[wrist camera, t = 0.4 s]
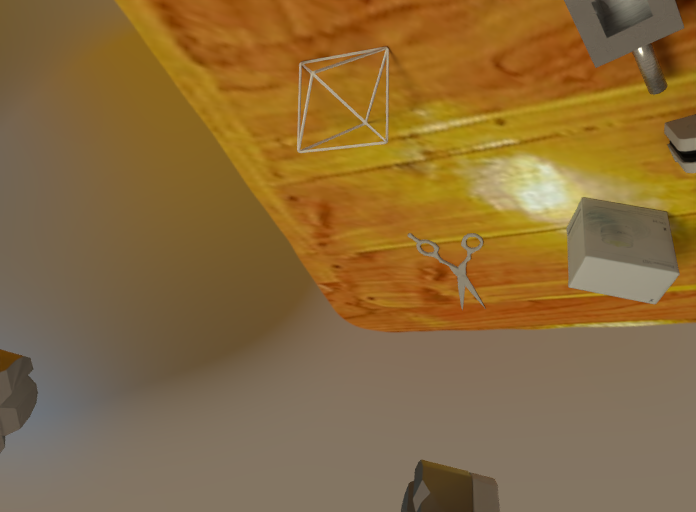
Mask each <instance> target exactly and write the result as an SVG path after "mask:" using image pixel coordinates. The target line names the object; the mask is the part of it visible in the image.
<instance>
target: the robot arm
mask: <svg viewBox="0 0 696 512" xmlns="http://www.w3.org/2000/svg"><path fill="white" fill-rule="evenodd" d="M32 370H33V366H32V362H31V358H29V357H26V356H22V355H19V354H15V353H11V352H8V351H4V350H1V349H0V453H1V451H2V450H3V449H4V448H5V436H6V435H8V434H10V433H13V432H14V431H17V430H19V429H20V428H21V427H22V426H23V425H24V423H25V422H26V421H27V420H28V418H29V417H30V415H31V413H32V411H33V409H34V407H35V404H36V401H37V394H38V391H37V386H36V383H35V382H34V381H33V380H32V379H31V378H30V377H29V376H28V374H30V372H31V371H32ZM401 512H500V508H499V497H498V485H497V483H496V481H495V479H493V478H490V477H486V476H482V475H478V474H474V473H470V472H468V471H466V470H461V469H457V468H453V467H449V466H445V465H441V464H437V463H433V462H429V461H425V460H420V461H419V462H418V464H417V466H416V469H415V476H414V481H412V482H410V483H409V484H408V487H407V489H406V492H405V495H404V499H403V503H402V508H401Z"/></svg>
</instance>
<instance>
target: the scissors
mask: <svg viewBox="0 0 696 512" xmlns="http://www.w3.org/2000/svg"><path fill="white" fill-rule="evenodd" d="M408 237H409V238H411V239H413V240H414V241H416V242H417V249H418V251H419V252H420V253H422V254H424V255H426V256H432V257H435V258H437V259H438V260H439V262H440V263H444V264H446V265H448V266H449V267H450V269H451V270H452V271H453V273H454V274H455V275H456V276H457V277H458V289H459V295H460V301H461V307H462V310H463V301H464V290H465V286H466V287H467V288H468V289H469V291H470V292H471V293H472V294H473V295H474V296H475V297H476V299H477V300H478V301H479V302H480V303H481V304H482V305H483V303H482V301H481V299H480V298H479V296H478V294H477V292H476V291H475V289H474V287H473V285H472V284H471V282H470V281H469V279H468V277H467V276H466V263H467V261H469V260H470V259H471V255H470V254H472V253H473V252H475V251H477V250H479V249H480V248H481V247H482V245H483V239H482V237H481V236H479V235H478V234H475V233H470V234H467V235H465V236H464V237H463V239H462V245H461V246H462V247H464V248H465V249H466V250H467V254H468V256H467V257H466V259H465V260H464V261H463V262H462V263H461V264H460V265H459V266H458V267H457V266H455V265H453V264H451V263H449V262H447V261H445V260H443V259H442V258H441V257H440V256H439V254H438V250H439V246H438V245H437V244H436V243H434V242H432V241H429V240H419V239H418V238H416V237H414V235H412V234H411V233H409V234H408ZM468 237H477V238H478V239H479V240H480V244H479V246H478V247H475V248H470V247H469V246H467V245H466V240H467V238H468ZM422 243H429V244H430V245H432V246H433V247H434V252H429V253H428V252H425V251H423V250H422V249H421V247H420V245H421V244H422ZM483 306H484V305H483ZM484 308H485V307H484Z"/></svg>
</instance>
